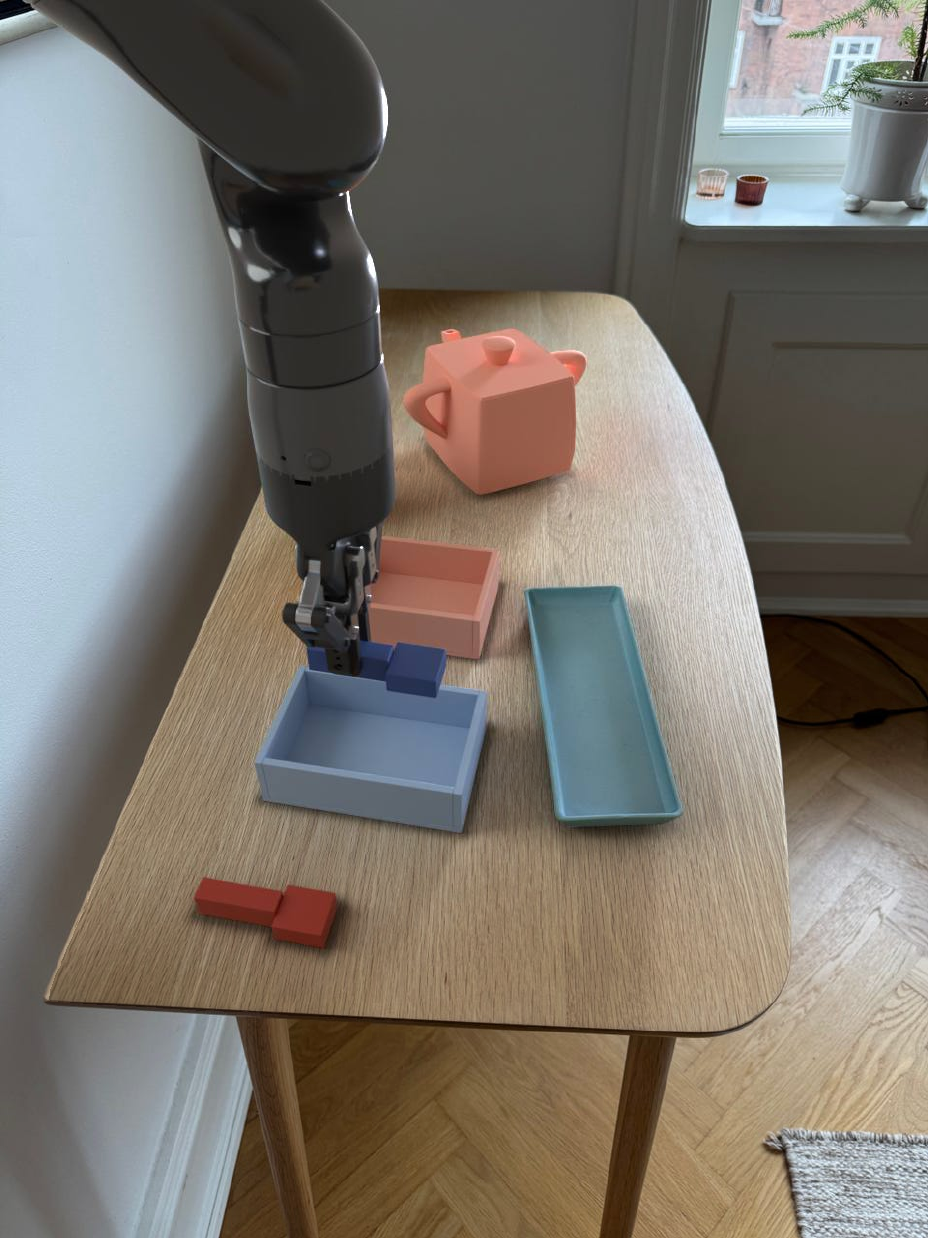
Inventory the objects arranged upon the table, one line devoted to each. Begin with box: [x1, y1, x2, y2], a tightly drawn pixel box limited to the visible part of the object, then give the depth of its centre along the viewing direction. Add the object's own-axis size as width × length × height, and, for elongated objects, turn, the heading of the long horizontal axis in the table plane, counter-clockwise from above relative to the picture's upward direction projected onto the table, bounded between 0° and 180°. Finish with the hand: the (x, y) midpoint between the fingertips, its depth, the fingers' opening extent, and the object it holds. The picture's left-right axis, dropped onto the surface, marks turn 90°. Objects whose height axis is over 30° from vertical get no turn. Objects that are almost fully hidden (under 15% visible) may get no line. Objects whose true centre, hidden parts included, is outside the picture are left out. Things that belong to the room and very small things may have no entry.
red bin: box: [368, 534, 501, 660], centre depth 83 cm, size 15×10×4 cm
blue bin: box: [253, 664, 488, 834], centre depth 70 cm, size 15×10×4 cm
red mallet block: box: [193, 877, 339, 949], centre depth 61 cm, size 9×3×2 cm, turn 79°
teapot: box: [402, 327, 588, 496], centre depth 102 cm, size 20×22×14 cm
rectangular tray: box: [523, 584, 684, 828], centre depth 75 cm, size 26×9×2 cm, turn 2°
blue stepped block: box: [305, 641, 447, 698], centre depth 61 cm, size 9×3×2 cm, turn 78°
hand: (350, 660), depth 61 cm, fingers closed on blue stepped block, 1 cm apart
